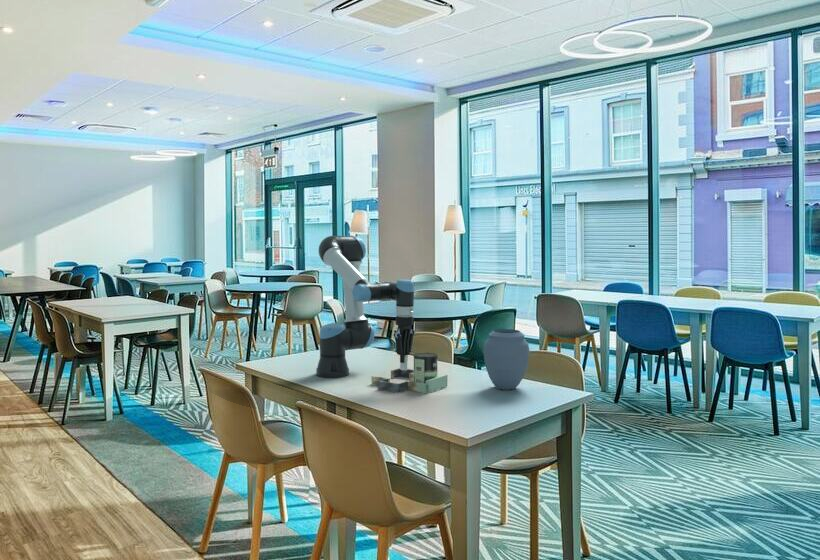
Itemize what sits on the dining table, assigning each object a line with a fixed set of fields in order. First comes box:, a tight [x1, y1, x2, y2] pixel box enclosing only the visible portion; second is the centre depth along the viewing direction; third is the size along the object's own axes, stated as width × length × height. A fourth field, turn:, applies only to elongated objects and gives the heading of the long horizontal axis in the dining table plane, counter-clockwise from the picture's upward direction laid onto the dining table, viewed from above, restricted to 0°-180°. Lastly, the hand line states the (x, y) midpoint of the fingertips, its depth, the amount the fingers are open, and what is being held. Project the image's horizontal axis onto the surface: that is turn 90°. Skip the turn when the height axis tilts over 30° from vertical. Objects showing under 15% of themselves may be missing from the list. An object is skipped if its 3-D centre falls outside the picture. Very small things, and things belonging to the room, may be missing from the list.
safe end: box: [418, 374, 448, 394], centre depth 276 cm, size 5×15×5 cm, turn 146°
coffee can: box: [412, 352, 439, 384], centre depth 278 cm, size 10×10×14 cm
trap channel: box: [371, 367, 418, 394], centre depth 284 cm, size 24×28×4 cm
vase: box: [482, 328, 530, 391], centre depth 277 cm, size 20×20×24 cm
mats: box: [394, 376, 409, 381], centre depth 285 cm, size 17×26×1 cm, turn 146°
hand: (403, 369), depth 284 cm, fingers closed
